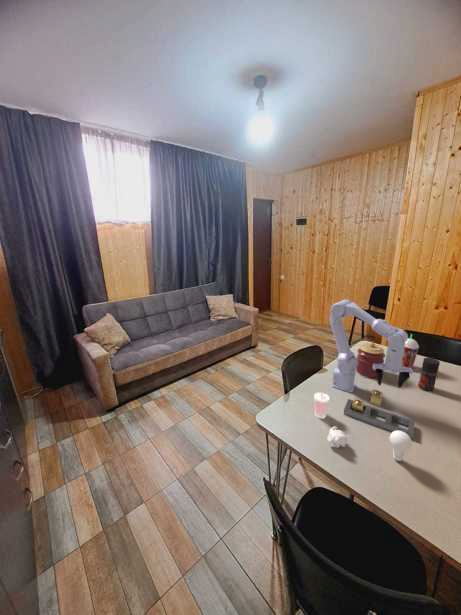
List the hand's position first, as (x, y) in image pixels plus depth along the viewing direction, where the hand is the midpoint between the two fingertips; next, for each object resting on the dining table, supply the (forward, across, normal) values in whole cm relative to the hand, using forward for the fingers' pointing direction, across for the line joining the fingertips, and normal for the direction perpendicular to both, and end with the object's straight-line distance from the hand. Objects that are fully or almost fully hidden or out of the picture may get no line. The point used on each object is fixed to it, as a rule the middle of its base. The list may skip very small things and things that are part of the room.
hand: (389, 385), depth 108 cm
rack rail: (+9, -6, -12) cm, 17 cm away
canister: (+10, -2, +27) cm, 28 cm away
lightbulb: (+10, -4, -31) cm, 33 cm away
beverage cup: (+10, -28, -15) cm, 33 cm away
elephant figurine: (+10, -23, -29) cm, 39 cm away
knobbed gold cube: (+10, -4, 0) cm, 10 cm away
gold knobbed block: (+10, -13, -10) cm, 19 cm away
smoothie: (+10, +19, +37) cm, 43 cm away
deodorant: (+10, +22, +17) cm, 29 cm away
